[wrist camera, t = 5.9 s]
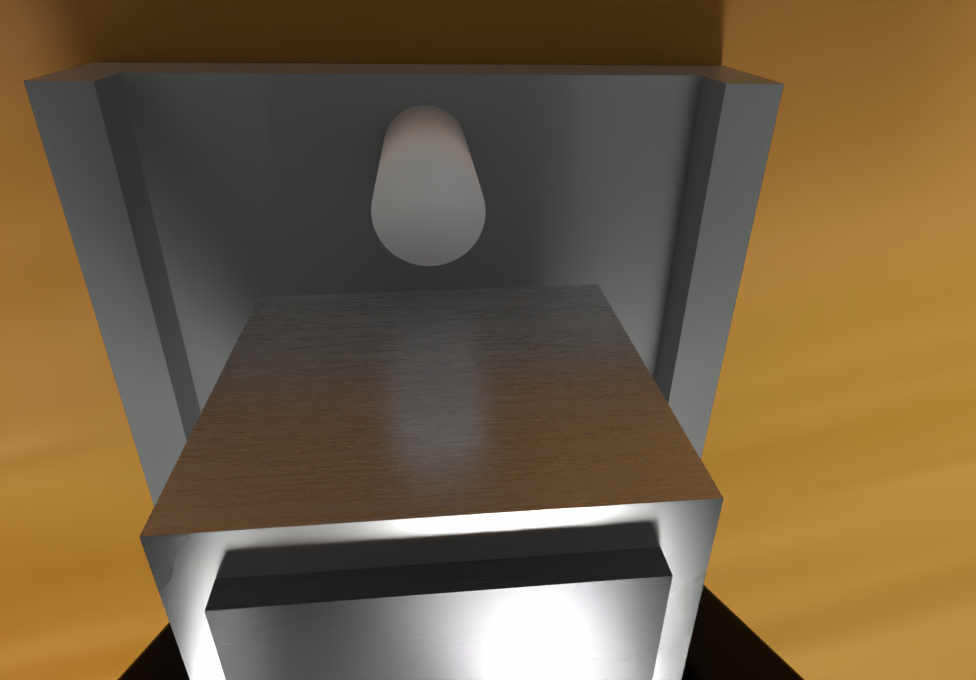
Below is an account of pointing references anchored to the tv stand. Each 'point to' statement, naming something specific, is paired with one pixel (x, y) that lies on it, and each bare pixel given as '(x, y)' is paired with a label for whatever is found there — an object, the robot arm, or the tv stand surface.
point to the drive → (434, 496)
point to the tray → (399, 203)
